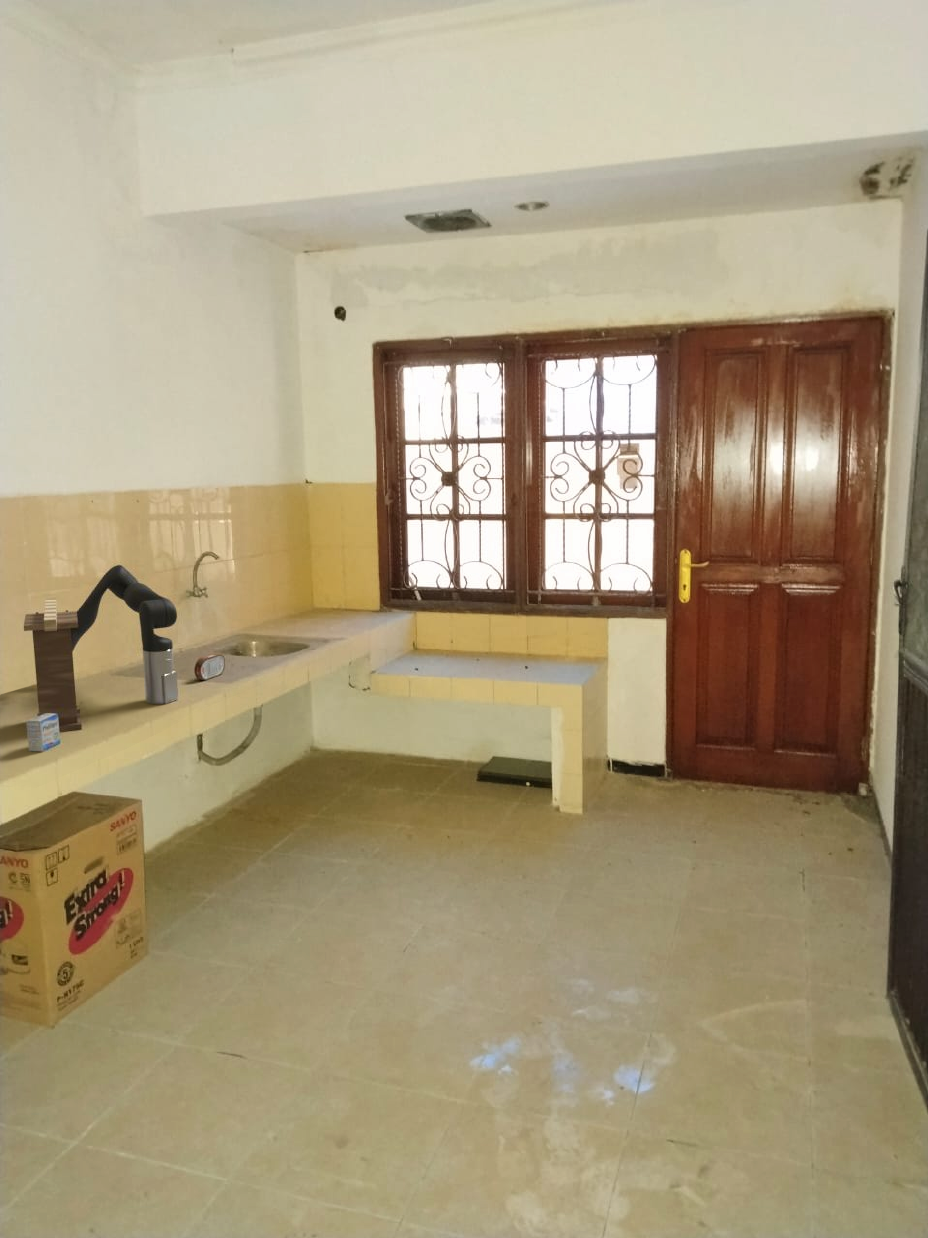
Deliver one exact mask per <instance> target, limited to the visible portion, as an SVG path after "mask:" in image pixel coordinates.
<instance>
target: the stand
mask: <svg viewBox="0 0 928 1238" xmlns="http://www.w3.org/2000/svg"><path fill="white" fill-rule="evenodd" d="M77 611H78V610H74V611H68V612H66V611H61V612H60V611H59V612H58V611H57V631H45V628H44V613H43V612H42V613H41V612H40V613H39V612H38V614H36V613H26V614H25V617H24V620H23V621H24V622H23V631H24V632H30V631H31V630H32V641H33V642H32V643H33V654H34V656H33V657H34V665H35V666H34V667H35V679H36V689H37V691H36V693H37V702H38V712H37V715H36V717H37V716H40V715H42V714H44V713H54V714H58V722H59V733H62V732H68V731H69V732H70V731H79V730H82V729H83V728H82V726H83V725H82V716H81V715H82V714H81V708H77V696H76V683H75V681H76V680H75V670H74V668H75V667H74V655H73V653H74V652H72V640H71V628H76V627H78V619H77Z"/></svg>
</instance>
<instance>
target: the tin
mask: <svg viewBox="0 0 928 1238" xmlns="http://www.w3.org/2000/svg"><path fill="white" fill-rule="evenodd" d="M225 666H226V658H225V657H224V655H223V654H221V653H217V652H214V653H209V654H207V655H203V656H200V657H199V658H198V659H197V661H196V663H195V665H194V676H195V678H196V679H197V680H201V681H202V680H203V681H207V680H210V679H214V678H216V677H220V676H221V675H222V674H223V672H224V671H225V668H226V667H225Z"/></svg>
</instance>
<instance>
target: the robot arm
mask: <svg viewBox="0 0 928 1238" xmlns="http://www.w3.org/2000/svg"><path fill="white" fill-rule="evenodd" d="M107 590H109V591H111V593H112V594H114V596H115V597H117V598H118V599H120V600H122V601H124V604H126V606H127V607H129V608H130V609H131V610H132V611H134V612H135V613H138V617H139V624H140V633H141V634H140V636H141V643H142V644H141V645H142V657H143V658H142V659H143V660H142V661H143V675H144V676H143V677H144V678H143V679H144V691H145V703H148V704H153V705H154V704H155V705H158V704H159V705H160V704H169V703H172V702H174V701H178V700H179V693H178V689H179V688H178V675H177V671H176V670H175V666H174V663H175V662H174V651H173V650H174V645H173V641H172V639H171V638H168V637H164V636H160V635H157V634H155V630H156V629H164V628H170V627H172V626H174V625H175V623H176V622H177V619H178V612H177V609H176V607H175V605H174V603H173V602H172V601H171V600H170V599H169V598H166V597H164V596H161V595H159V594H158V593H156V592H155V591H154V590H152V589H151V588H150V587H149V586H148V585H146V584H145V583H141V582H139V580H138V579H137V578H136V577H135V576H134V575H133V574H131V572H130V571H129V570H128V569H126V567H125V566H123V565H121V564H117V565H114V566H112V567H111V568H110V569H109V570H107V572H106V573H105V574H104V575H103V576H102V577H101V579H100V580H99V582H98V583H97V584H96V585H95V587H94V588H93V589H92V591H91V592H90V594H89V595H88V597H86V599H85V601H84V602H83V604H82V605H81V606H80V607H79V608H78V609H77V610H76V611H77V619H78V627H76V628H71V640H72V653H74V650H75V648H76V646H77V644H78V642H79V641H80V640H81V638H82V637H83V636H84V635H85V634H86V633H87V632H88V631H89V630H90V628H91V627H92V626H93V625H94V623H95V621H96V619H97V617H98V613H99V608H100V604H101V601H102V598H103V596H104V595H105V593H106V591H107ZM65 612H69V610H65ZM35 614H39V611H37V612H35ZM154 629H155V630H154ZM31 631H32V630H31Z"/></svg>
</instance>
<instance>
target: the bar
mask: <svg viewBox="0 0 928 1238" xmlns="http://www.w3.org/2000/svg"><path fill="white" fill-rule="evenodd" d="M57 609H58V607H57V598H45V601H44V628H45V631H57V612H58V610H57Z"/></svg>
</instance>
